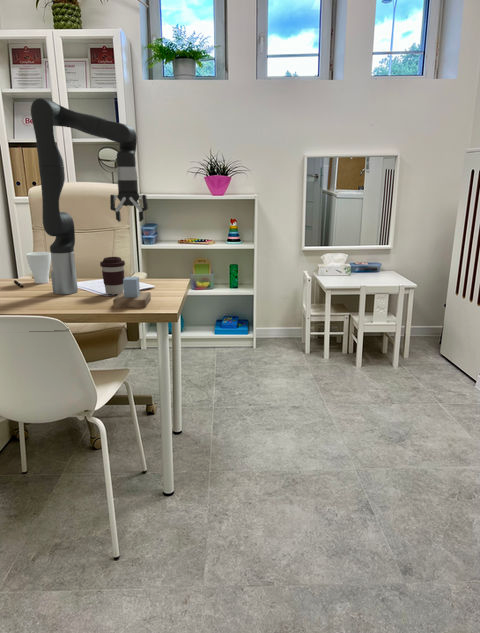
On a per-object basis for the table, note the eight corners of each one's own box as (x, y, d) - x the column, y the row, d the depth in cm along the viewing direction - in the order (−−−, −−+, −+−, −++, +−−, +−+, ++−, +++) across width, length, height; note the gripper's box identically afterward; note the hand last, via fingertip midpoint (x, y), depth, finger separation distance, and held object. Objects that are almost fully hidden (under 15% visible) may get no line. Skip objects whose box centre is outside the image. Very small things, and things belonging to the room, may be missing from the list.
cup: (45, 279, 230) (42, 251, 226) (58, 281, 224) (55, 253, 220) (25, 282, 222) (21, 253, 218) (38, 285, 216) (34, 256, 212)
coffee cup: (105, 297, 196) (102, 260, 192) (100, 292, 204) (97, 257, 200) (129, 294, 200) (127, 258, 196) (123, 289, 209) (121, 255, 205)
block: (124, 297, 183) (123, 279, 181) (127, 294, 188) (126, 276, 186) (137, 297, 183) (136, 279, 181) (139, 294, 188) (138, 276, 186)
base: (113, 307, 180) (113, 299, 180) (120, 299, 192) (120, 292, 191) (145, 307, 181) (145, 299, 180) (150, 299, 192) (150, 292, 191)
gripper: (106, 179, 183) (109, 222, 187) (144, 179, 183) (146, 222, 188) (111, 179, 190) (114, 220, 195) (147, 179, 190) (149, 220, 195)
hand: (130, 221), depth 191 cm, fingers open, 8 cm apart
